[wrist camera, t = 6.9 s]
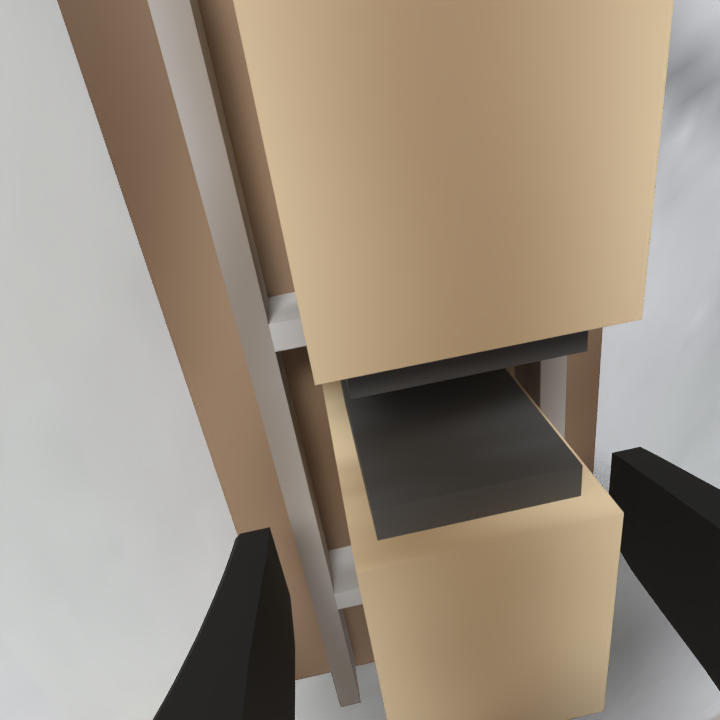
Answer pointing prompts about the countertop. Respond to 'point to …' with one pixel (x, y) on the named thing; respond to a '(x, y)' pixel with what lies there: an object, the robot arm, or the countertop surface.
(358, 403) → the block
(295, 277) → the rail board
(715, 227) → the countertop surface
